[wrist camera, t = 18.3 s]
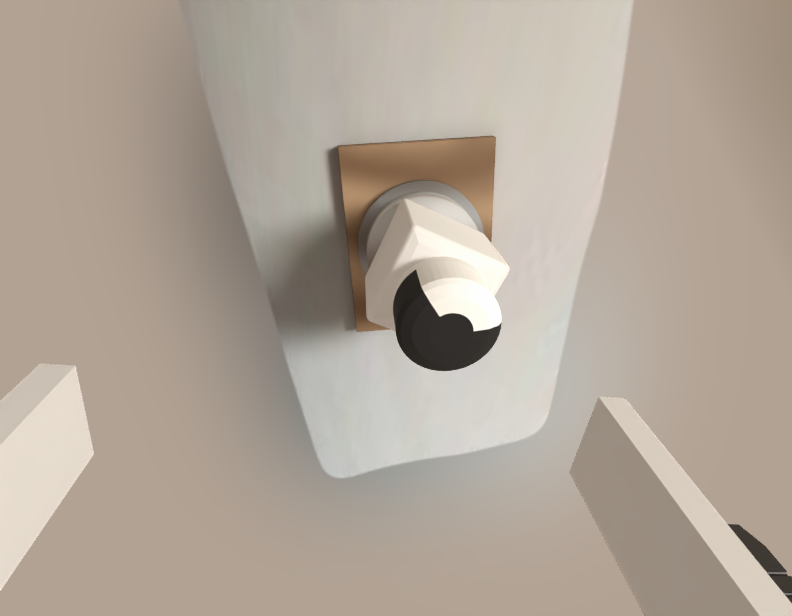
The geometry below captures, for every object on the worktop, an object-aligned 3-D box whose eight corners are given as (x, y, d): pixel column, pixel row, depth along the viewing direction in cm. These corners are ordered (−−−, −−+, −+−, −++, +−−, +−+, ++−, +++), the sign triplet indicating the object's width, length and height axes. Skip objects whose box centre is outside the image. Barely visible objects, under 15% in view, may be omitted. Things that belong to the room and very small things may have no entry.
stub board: (338, 145, 36) (336, 153, 33) (492, 135, 37) (506, 143, 33) (356, 326, 44) (356, 349, 40) (485, 316, 44) (496, 338, 41)
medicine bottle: (443, 309, 39) (475, 400, 28) (363, 278, 37) (365, 362, 27) (486, 233, 36) (539, 302, 26) (402, 195, 35) (422, 252, 24)
